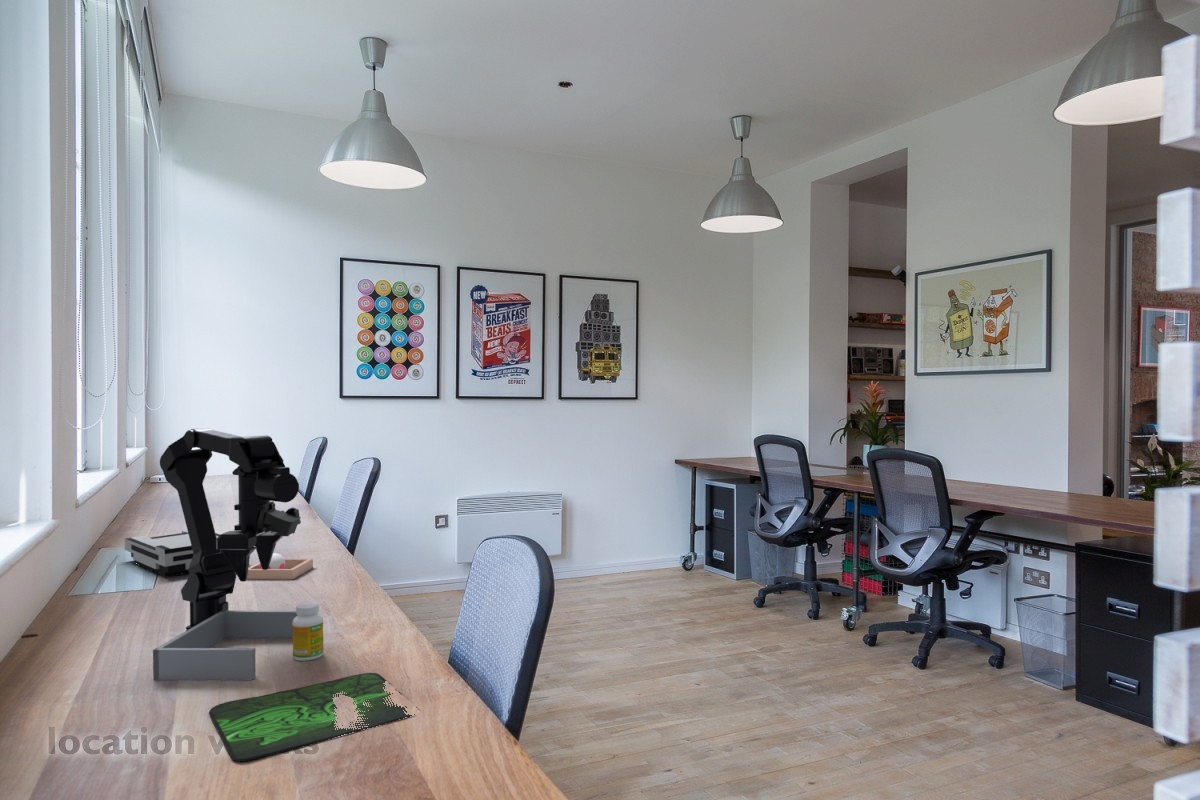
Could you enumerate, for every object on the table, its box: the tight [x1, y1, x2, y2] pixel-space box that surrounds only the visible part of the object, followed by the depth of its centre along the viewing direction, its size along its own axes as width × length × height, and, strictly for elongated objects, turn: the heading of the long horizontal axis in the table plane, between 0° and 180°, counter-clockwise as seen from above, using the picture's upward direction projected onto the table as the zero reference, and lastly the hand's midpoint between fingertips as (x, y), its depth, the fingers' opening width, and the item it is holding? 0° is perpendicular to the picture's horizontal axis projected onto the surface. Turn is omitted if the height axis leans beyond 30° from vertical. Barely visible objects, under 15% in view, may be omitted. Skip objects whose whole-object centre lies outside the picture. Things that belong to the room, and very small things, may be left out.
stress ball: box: [260, 552, 286, 569], centre depth 204 cm, size 8×8×7 cm
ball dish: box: [247, 558, 314, 580], centre depth 206 cm, size 13×13×2 cm
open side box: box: [152, 610, 298, 681], centre depth 142 cm, size 18×23×5 cm
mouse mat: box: [208, 672, 415, 762], centre depth 118 cm, size 27×22×1 cm
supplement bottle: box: [292, 601, 324, 662], centre depth 142 cm, size 5×5×10 cm
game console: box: [124, 529, 221, 578], centre depth 218 cm, size 21×32×8 cm, turn 49°
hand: (254, 575), depth 152 cm, fingers open, 9 cm apart
